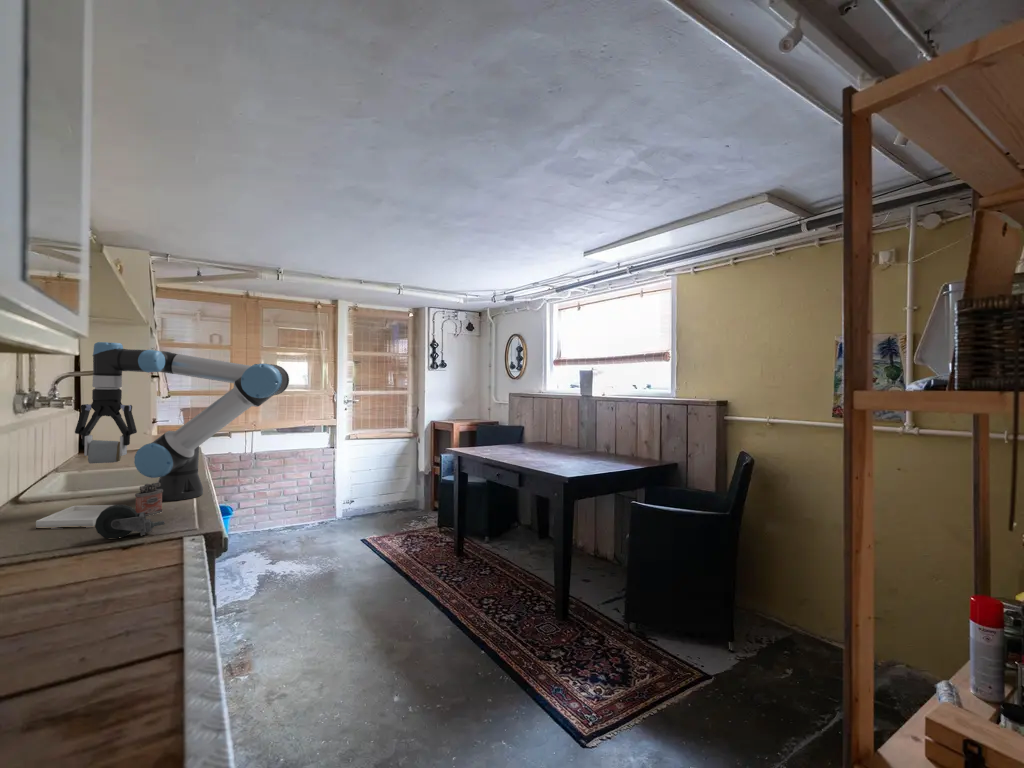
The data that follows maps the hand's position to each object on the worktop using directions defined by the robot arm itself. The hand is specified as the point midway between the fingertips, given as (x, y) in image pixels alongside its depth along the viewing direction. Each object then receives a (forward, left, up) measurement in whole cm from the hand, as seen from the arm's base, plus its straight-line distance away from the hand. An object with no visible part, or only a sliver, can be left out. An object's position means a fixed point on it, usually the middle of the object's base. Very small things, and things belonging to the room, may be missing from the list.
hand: (105, 455), depth 161 cm
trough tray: (-2, +15, -17) cm, 23 cm away
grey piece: (+1, -1, -3) cm, 3 cm away
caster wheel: (-23, +32, -18) cm, 43 cm away
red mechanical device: (-18, +11, -18) cm, 27 cm away
